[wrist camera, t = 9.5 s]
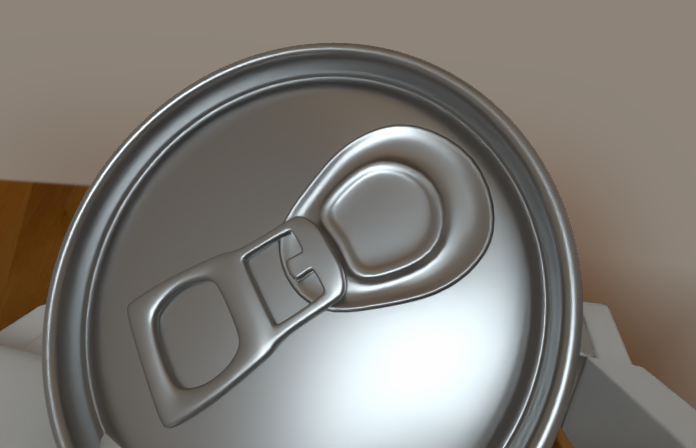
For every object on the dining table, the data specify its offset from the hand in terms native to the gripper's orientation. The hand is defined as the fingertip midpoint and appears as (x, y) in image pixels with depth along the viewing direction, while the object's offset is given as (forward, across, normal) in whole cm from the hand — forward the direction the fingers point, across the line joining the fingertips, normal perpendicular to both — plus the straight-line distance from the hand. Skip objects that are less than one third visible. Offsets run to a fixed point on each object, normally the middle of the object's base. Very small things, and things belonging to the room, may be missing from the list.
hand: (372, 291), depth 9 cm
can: (+4, 0, +5) cm, 7 cm away
